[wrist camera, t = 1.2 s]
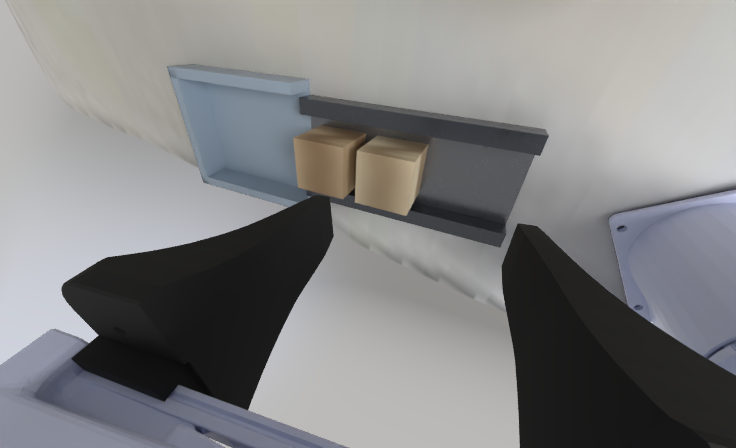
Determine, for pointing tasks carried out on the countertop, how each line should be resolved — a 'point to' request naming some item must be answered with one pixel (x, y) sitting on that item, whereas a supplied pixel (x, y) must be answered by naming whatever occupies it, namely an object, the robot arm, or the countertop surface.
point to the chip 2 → (389, 173)
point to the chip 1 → (327, 160)
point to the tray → (244, 128)
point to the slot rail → (444, 163)
